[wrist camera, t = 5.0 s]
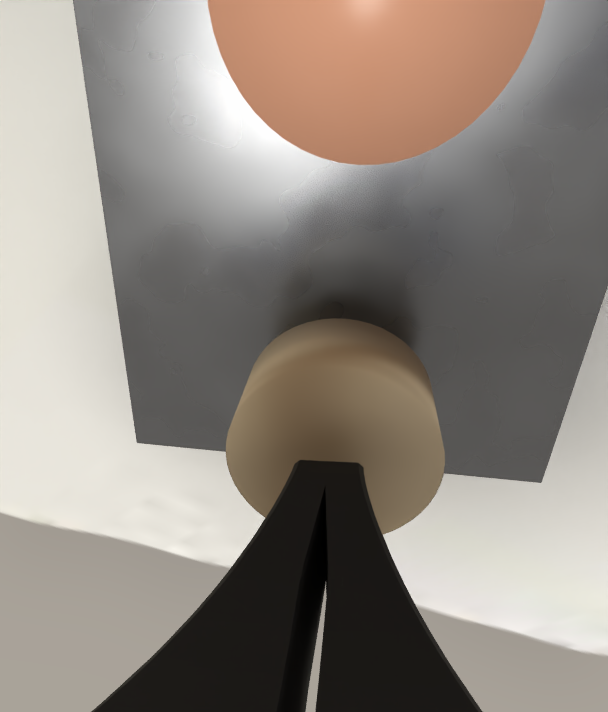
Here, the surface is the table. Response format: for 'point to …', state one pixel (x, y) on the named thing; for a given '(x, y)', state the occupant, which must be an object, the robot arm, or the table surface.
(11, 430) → the table surface
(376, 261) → the knob panel
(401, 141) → the knob middle
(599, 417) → the table surface
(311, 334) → the knob
